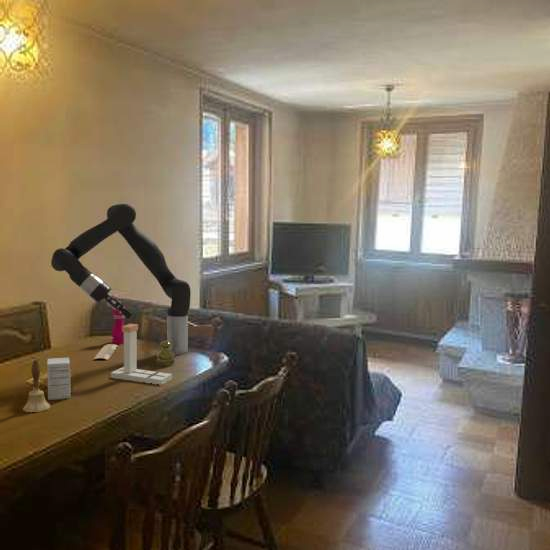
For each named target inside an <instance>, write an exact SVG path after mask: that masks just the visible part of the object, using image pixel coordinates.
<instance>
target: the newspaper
mask: <svg viewBox="0 0 550 550" xmlns="http://www.w3.org/2000/svg"><path fill="white" fill-rule="evenodd" d="M116 347H117V348H118V344H114V343H109V344H104V345H103V347H102V348H101V349H100V351H99V352H98V353H97V354H96V355H95V356H94V357H93V359H92V361H95V360H97V359H104V360H106V361H108V360H109V359H110V357H111V356H112V355H113V354H114V352H115V351H114V350H116V349H117V348H116Z"/></svg>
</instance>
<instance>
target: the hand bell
mask: <svg viewBox="0 0 550 550" xmlns="http://www.w3.org/2000/svg"><path fill="white" fill-rule="evenodd" d="M31 376H32V380H33V382H32V383H33V384H32V385H33V388H32V390H31V391H29V393H28V399H27V402H26V404H25V405H24V406H23V408H22V411H23V412H24V411H25V413H28V412H31V414H33V413H32V412H35V413H41V412H45V411H48V410H49V409H50V408H51V404H50V403H49V402H47V400H46V397H45V392H44V391H43V390H41V389H40V382H39V380H40V376H41V366H40V363H39V361H38V359H33V361H32V365H31Z"/></svg>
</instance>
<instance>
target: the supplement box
mask: <svg viewBox="0 0 550 550" xmlns="http://www.w3.org/2000/svg"><path fill="white" fill-rule="evenodd" d="M70 360H71V359H70V357H53V358H47V359H46V373H47V377H46V379H47V399H48V401H51V400H52V401H53V400H64V399H65V398H66V399H71V392H72V391H71V388H72V387H71V362H70Z"/></svg>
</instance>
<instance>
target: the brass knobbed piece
mask: <svg viewBox="0 0 550 550" xmlns="http://www.w3.org/2000/svg"><path fill="white" fill-rule="evenodd" d="M159 345H160V346H161V347H162V348H161V350H160V351H159V352H157V354H156V357H157V359H156V364H157V366H159V365H160V367H169V366H170V365H171V366H174V365H175V363H176V362H175V360H176V358H175V356H176V354H175V353H174V352H172V351H171V350H170V349H169V347H170V346H171V345H172V343H171V342H169V341H167V339H166V340H164V341H161V342H160V343H159ZM173 364H174V365H173ZM171 366H170V367H171Z"/></svg>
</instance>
